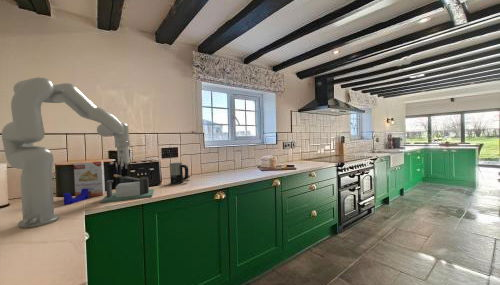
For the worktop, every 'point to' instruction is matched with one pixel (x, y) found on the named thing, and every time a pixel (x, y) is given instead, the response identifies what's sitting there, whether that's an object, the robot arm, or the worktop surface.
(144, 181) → the heatsink board
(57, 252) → the worktop surface
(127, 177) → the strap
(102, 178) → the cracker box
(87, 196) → the cable clip
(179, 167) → the milk frother
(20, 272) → the worktop surface
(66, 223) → the worktop surface
